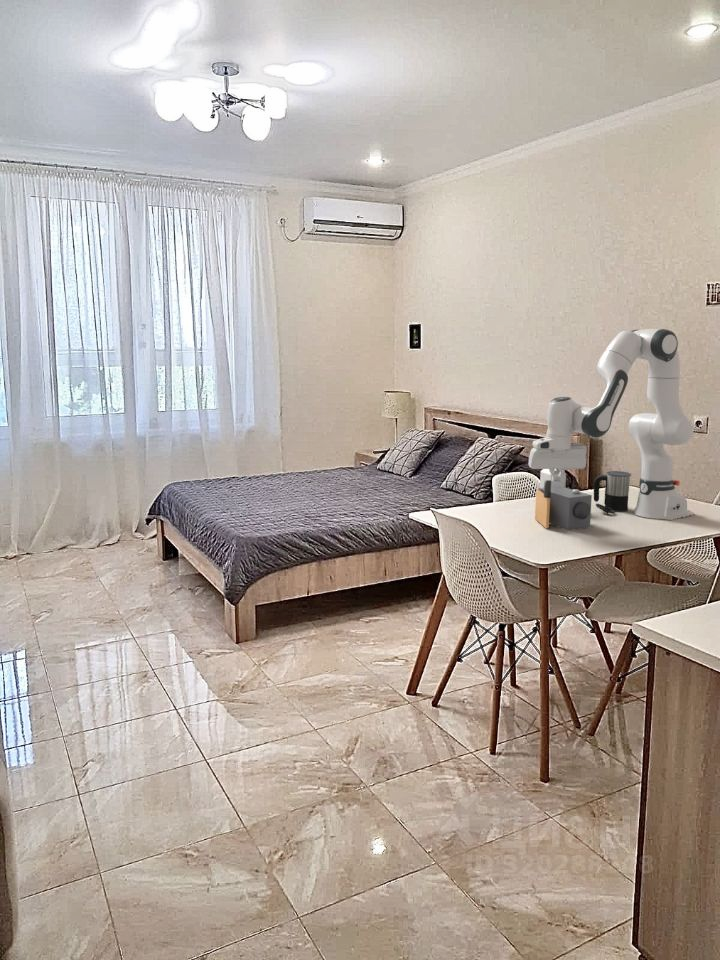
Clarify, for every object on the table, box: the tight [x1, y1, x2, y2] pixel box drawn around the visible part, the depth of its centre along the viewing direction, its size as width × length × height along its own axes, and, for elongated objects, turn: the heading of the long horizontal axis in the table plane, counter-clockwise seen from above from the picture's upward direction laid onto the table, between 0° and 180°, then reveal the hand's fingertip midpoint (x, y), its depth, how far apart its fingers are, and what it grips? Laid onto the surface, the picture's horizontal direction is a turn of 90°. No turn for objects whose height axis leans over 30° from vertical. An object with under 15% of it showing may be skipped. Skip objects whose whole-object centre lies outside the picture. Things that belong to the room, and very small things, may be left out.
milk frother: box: [593, 470, 632, 515], centre depth 300 cm, size 14×16×15 cm
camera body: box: [537, 486, 593, 531], centre depth 281 cm, size 10×20×13 cm, turn 23°
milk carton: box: [539, 469, 567, 488], centre depth 303 cm, size 7×7×19 cm
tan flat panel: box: [534, 480, 551, 529], centre depth 279 cm, size 2×14×17 cm, turn 3°
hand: (556, 481), depth 274 cm, fingers closed
